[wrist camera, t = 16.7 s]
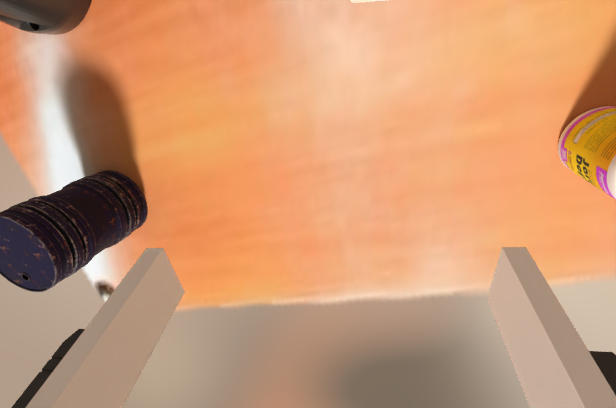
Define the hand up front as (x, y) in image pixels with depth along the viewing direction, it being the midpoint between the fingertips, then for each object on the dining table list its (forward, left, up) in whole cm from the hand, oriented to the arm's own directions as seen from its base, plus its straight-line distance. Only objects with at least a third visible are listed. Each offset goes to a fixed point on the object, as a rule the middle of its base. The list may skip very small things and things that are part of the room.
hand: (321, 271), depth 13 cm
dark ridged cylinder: (-18, -33, -26) cm, 46 cm away
